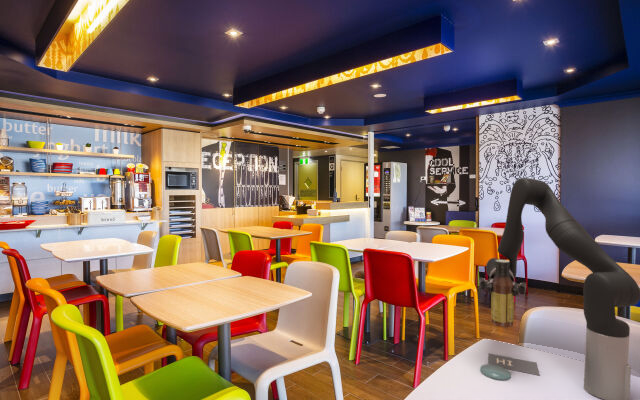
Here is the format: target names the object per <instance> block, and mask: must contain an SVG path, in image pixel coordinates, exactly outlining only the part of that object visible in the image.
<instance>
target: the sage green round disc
mask: <svg viewBox="0 0 640 400" xmlns="http://www.w3.org/2000/svg"><path fill="white" fill-rule="evenodd" d="M479 369H480V370H479V371H480V372H481V374H482V375H484V376H485V377H487V378H489V379H492V380H496V381H509V380H510V379H511V378H512V372H511V370H509V369H505V368H503V367H500V366H497V365H491V364H483V365H481V366H480V368H479Z"/></svg>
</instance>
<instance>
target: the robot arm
mask: <svg viewBox="0 0 640 400" xmlns="http://www.w3.org/2000/svg"><path fill="white" fill-rule="evenodd" d="M508 201H509V202H508V208H507V214H506V220H505V226H504V229H503V233H502V235H501V238H500V240H499V244H498V247H497V252H498V253H499V255H501V256H503V257H505V258H506V259H507V260H508V261H510V266H509V276H510V278H511V280H512V281H513V296H514V297H517V296H519V294H520V295H525V294H526V292H527V282H524V281H522V282H520V283H517V282H516V281H515V278H516V276H517V271H518V270H517V269H518V267H517V264H518V256H519V253H520V250H521V247H522V245H523V241H524V236H525V234H524V226H523V221H522V215H523V210H524V208H525V205H529V206H534V207H535V208H536V209H538V210H539V211H540V212H541V214H542V215H543V216H544V219H545V223H544V224H545V225H544V226H545V227H544V228H545V232H546V234H547V236H548V237H549V238H550V240H551V241H552V242H553V244H554V245H555V246H556V247H557V248H558V250H560V251H561V252H562V253H563V254H565V255H566V256H567V257H569V258H571V259H573V260H574V261H575V262H578V263H579V264H581V265H583V267H586V269H588V270H589V271H590V272H591V273H589V274H588V275H587V276H586V277H585V279H584V282H583V293H582V294H583V296H582V297H583V315H584V318H585V319H584V320H585V323H586V327H585V328H586V329H585V330H586V332H585V333H586V334H585V350H584V352H585V354H584V355H585V356H584V377H583V388H584V390H585V391H586V392H587V393H588V394H590V395H592V396H594V397H596V398H599V399H602V400H630V398H631V397H630V393H631V376H632V375H631V374H632V372H631V371H632V368H631V367H632V366H631V365H630V364H629V354H630V353H629V350H630V334H631V333H630V331H631V329H630V325H629V324H628V323H627V322H626V321H624V320H621V319H619V318H617V317H616V308H624V307H625V308H626V307H633V306H635V305H637V304H638V303H639V302H640V287H639V285H638V283H637V282H636V280H635V279H634V278H633V276H631V274H629V273H628V272H627V271H626V270H625V269H624V268H623V267H622V266H621V265H619V264H618V263H617V262H616V261H615V260H614V259H613V258H612V257H611V256H610V255H608V254H607V253H606V251H604V249H603V248H602V247H601V246H600V245H599V244H598V242H596V240H594V238H593V237H591V236H590V234H589V233H588V232H587V231H586V229H585V228H584V227H583V226H582V224H581V223H580V222H579V221H577V219H575V217H574V216H573V215H572V214H571V213H570V212H569V211H568V210H567V208H566V207H565V206H564V204H563V203H561V201H560V200H559V199H558V196H556V194H555V193H554V191H553V190H552V188H551V187H550V185H549V184H548V183H547V182H545V181H544V180H539V179H533V178H529V177H520V178H518V179H517V180H515V182H514V183H513V186H512V188H511V192H510V196H509V200H508ZM495 260H501V259H500V258H495V257H493V258H489V260H488V261H487V262H486V264H485V265H486V266H485V270H486V274H487V276H488V277H489V278H488V279H487V280H486V278H484V277H479V278H478V279H479V280H478V286H479V288H480V290H485V289H486V292H488V294H491V289H492V280H493V279H494V277H495V272H496V265H495Z"/></svg>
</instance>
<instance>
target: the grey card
mask: <svg viewBox="0 0 640 400" xmlns="http://www.w3.org/2000/svg"><path fill="white" fill-rule="evenodd" d="M487 359H488V360H487V361H488V362H487V363H488V364H491V365H497V366H500V367H503V368H505V369H507V370H509V371H513V372H514V371H515V372H521V373H525V374H529V375H533V376H534V375H535V376H539V377H540V376H541V375H540V370H539V366H538V364H537V363H538V362H536V361H530V360H525V359H520V358H514V357H509V356H505V355H500V354H494V353H488V357H487Z"/></svg>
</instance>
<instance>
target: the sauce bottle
mask: <svg viewBox="0 0 640 400" xmlns="http://www.w3.org/2000/svg"><path fill="white" fill-rule="evenodd" d="M495 265H496V272H495V277H494V279H493V280H492V289H491V293H490V317H491V323H492V325H495V326H497V327H500V328H512V327H514V319H515V317H514V315H515V314H514V313H515V312H514V311H515V310H514V309H515V308H514V305H515V303H514V301H515V300H514V299H515V298H514V297H515V296H513V281H512V280H511V278H510V276H509V266H510V261H509V260H508V259H500V260H495Z"/></svg>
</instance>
